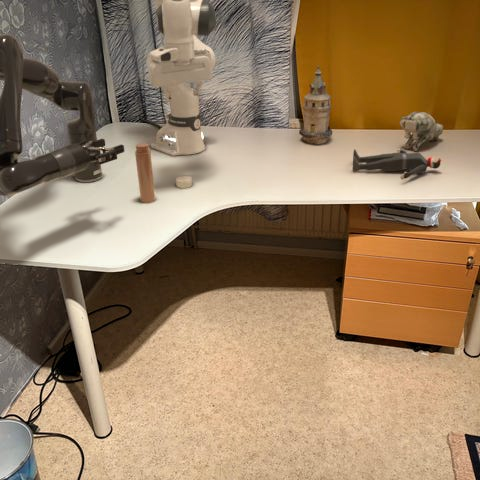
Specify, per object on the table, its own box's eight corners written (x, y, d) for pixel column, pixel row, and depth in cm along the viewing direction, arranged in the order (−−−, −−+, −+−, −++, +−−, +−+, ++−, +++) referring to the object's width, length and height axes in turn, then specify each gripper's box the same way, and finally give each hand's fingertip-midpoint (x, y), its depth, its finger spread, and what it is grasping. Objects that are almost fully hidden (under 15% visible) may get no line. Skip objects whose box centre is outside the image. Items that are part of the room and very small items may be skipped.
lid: (174, 183, 184) (174, 177, 183) (189, 181, 185) (189, 174, 184) (178, 189, 179) (177, 182, 178) (193, 187, 181) (193, 180, 180)
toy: (354, 141, 202) (437, 142, 196) (353, 157, 206) (435, 158, 199) (352, 166, 180) (446, 168, 174) (351, 183, 183) (444, 186, 177)
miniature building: (320, 132, 228) (325, 59, 214) (338, 142, 217) (344, 66, 203) (293, 137, 224) (296, 63, 209) (310, 147, 213) (314, 69, 198)
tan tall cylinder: (154, 202, 171) (148, 147, 162) (139, 203, 170) (133, 147, 161) (155, 196, 175) (150, 142, 166) (141, 196, 174) (135, 142, 165)
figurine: (429, 162, 206) (454, 135, 215) (417, 119, 197) (443, 93, 206) (407, 162, 213) (432, 135, 222) (394, 121, 204) (421, 95, 213)
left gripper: (80, 153, 138) (128, 137, 149) (48, 142, 146) (96, 127, 157) (84, 180, 142) (131, 162, 153) (53, 168, 150) (99, 152, 161)
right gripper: (206, 47, 168) (208, 91, 175) (144, 53, 160) (148, 99, 167) (215, 50, 164) (216, 95, 170) (152, 57, 155) (156, 104, 162)
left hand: (113, 144), depth 155 cm, fingers open, 8 cm apart
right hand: (182, 97), depth 168 cm, fingers open, 8 cm apart
